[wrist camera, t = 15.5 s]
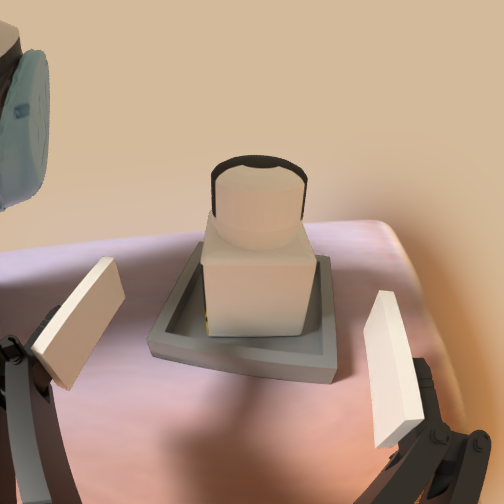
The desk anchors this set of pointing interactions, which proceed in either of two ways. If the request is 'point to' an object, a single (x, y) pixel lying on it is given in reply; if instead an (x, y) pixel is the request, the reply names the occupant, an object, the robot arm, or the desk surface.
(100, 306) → the robot arm
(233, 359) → the bottle tray
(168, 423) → the desk surface
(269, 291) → the medicine bottle
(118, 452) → the desk surface
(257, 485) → the desk surface
